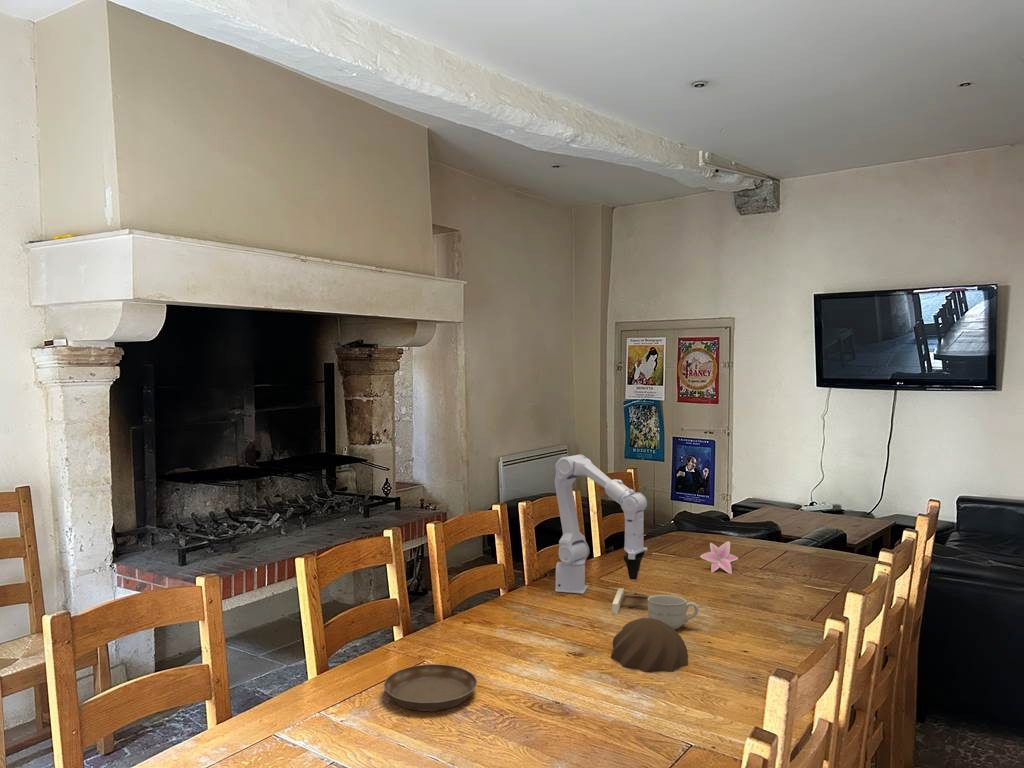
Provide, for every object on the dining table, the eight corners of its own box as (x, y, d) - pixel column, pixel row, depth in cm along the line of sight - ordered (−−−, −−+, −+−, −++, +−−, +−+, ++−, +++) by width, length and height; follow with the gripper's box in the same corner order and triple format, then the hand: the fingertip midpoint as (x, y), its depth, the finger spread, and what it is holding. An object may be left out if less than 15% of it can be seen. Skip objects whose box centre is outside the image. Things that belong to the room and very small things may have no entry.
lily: (695, 571, 270) (698, 551, 265) (710, 553, 278) (713, 534, 273) (726, 586, 264) (730, 567, 259) (740, 568, 272) (744, 548, 267)
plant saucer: (431, 669, 181) (431, 655, 181) (495, 693, 168) (495, 678, 168) (364, 698, 165) (364, 683, 165) (430, 727, 152) (430, 711, 152)
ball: (626, 582, 228) (626, 569, 228) (628, 579, 232) (628, 566, 232) (639, 583, 227) (639, 570, 227) (641, 580, 231) (641, 567, 231)
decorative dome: (633, 678, 176) (633, 636, 176) (598, 647, 195) (598, 610, 195) (704, 668, 182) (704, 627, 182) (663, 639, 201) (663, 602, 201)
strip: (612, 613, 221) (612, 603, 221) (618, 597, 236) (618, 588, 236) (617, 614, 220) (617, 604, 220) (623, 597, 236) (623, 588, 236)
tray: (620, 607, 227) (620, 603, 227) (623, 598, 235) (624, 594, 235) (651, 610, 224) (651, 606, 224) (653, 600, 233) (653, 596, 233)
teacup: (642, 629, 208) (642, 601, 208) (653, 617, 218) (654, 590, 217) (692, 638, 201) (692, 608, 201) (701, 625, 211) (702, 597, 211)
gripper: (645, 539, 221) (644, 584, 221) (649, 528, 235) (649, 571, 235) (621, 537, 223) (621, 582, 223) (626, 527, 237) (626, 570, 237)
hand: (633, 577), depth 229 cm, fingers closed on ball, 4 cm apart
